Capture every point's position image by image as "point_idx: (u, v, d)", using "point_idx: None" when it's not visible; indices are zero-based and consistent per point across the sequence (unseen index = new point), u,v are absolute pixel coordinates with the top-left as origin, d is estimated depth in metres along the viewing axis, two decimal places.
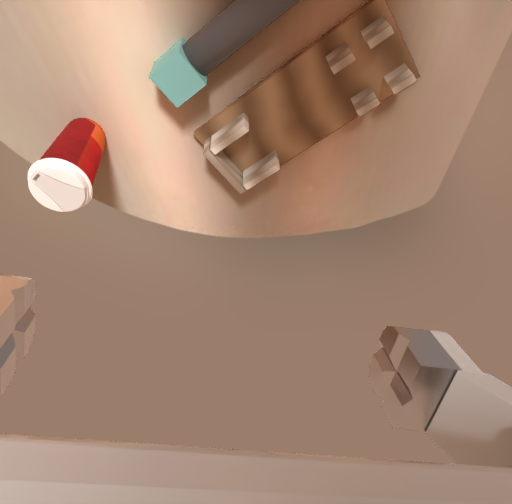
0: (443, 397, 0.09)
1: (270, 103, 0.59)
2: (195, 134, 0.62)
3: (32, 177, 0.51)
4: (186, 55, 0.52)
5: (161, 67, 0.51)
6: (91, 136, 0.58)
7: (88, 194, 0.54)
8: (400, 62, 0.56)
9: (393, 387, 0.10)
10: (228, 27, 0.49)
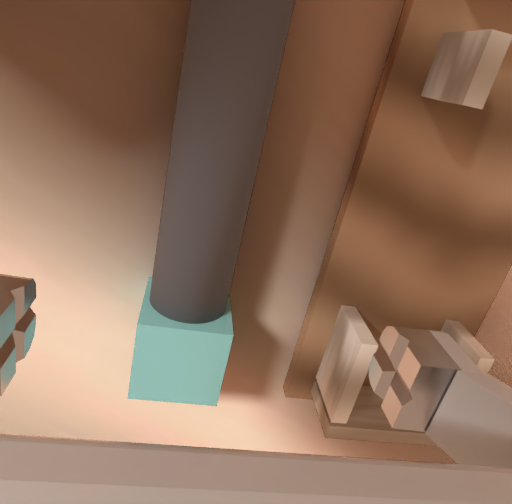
0: (443, 397, 0.09)
1: (377, 256, 0.26)
2: (288, 393, 0.30)
3: None
4: (162, 313, 0.23)
5: (134, 369, 0.23)
6: None
7: None
8: None
9: (393, 387, 0.10)
10: (189, 212, 0.20)
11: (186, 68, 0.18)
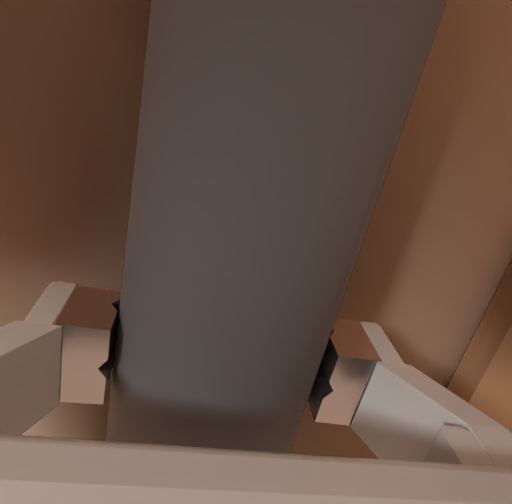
0: (366, 389, 0.09)
1: None
2: None
3: None
4: None
5: None
6: None
7: None
8: None
9: (318, 379, 0.09)
10: None
11: (151, 107, 0.06)
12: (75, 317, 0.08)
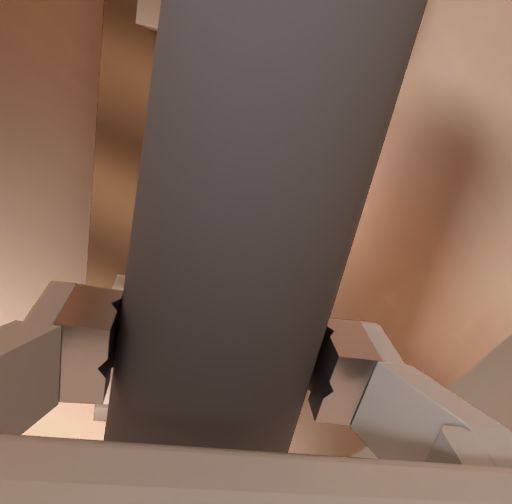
0: (366, 389, 0.09)
1: None
2: None
3: None
4: None
5: None
6: None
7: None
8: None
9: (318, 379, 0.09)
10: None
11: (156, 112, 0.07)
12: (74, 317, 0.08)
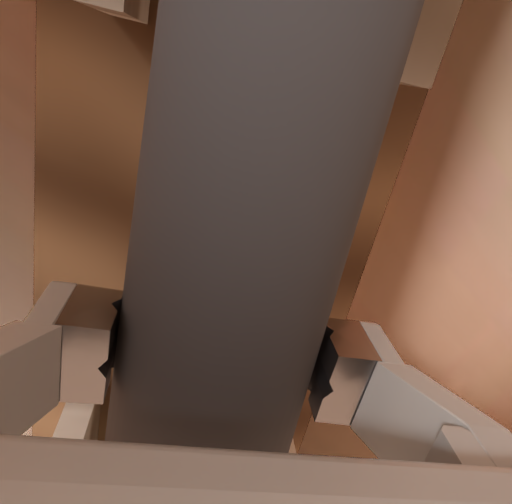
0: (365, 389, 0.09)
1: None
2: None
3: None
4: None
5: None
6: None
7: None
8: None
9: (317, 379, 0.09)
10: None
11: (154, 113, 0.07)
12: (74, 318, 0.08)
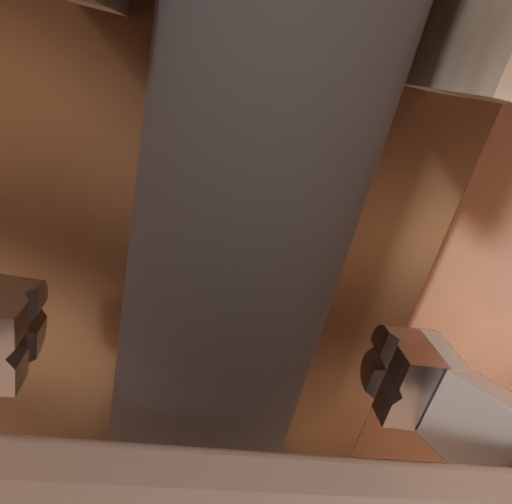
0: (433, 396, 0.09)
1: (93, 366, 0.12)
2: None
3: None
4: None
5: None
6: None
7: None
8: None
9: (383, 386, 0.10)
10: None
11: (152, 123, 0.07)
12: None
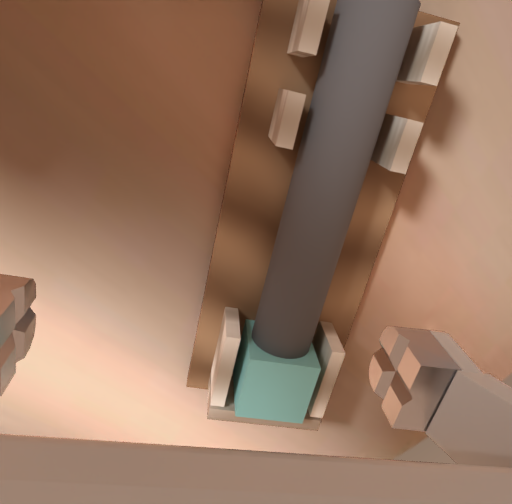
0: (443, 397, 0.09)
1: (250, 265, 0.31)
2: (188, 384, 0.35)
3: None
4: (265, 350, 0.29)
5: (242, 393, 0.29)
6: None
7: None
8: None
9: (393, 387, 0.10)
10: (295, 276, 0.27)
11: (300, 176, 0.26)
12: None
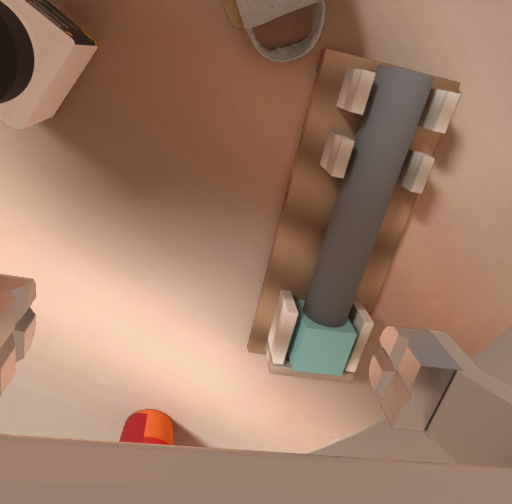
0: (443, 397, 0.09)
1: (302, 258, 0.41)
2: (249, 349, 0.45)
3: None
4: (316, 321, 0.40)
5: (299, 353, 0.40)
6: (144, 437, 0.45)
7: None
8: None
9: (393, 387, 0.10)
10: (340, 267, 0.37)
11: (346, 195, 0.36)
12: None
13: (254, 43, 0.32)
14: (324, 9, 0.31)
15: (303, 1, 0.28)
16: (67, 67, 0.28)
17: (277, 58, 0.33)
